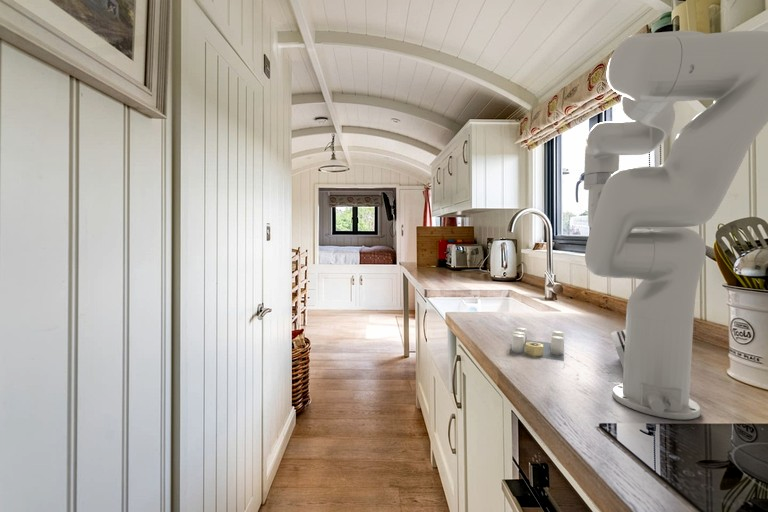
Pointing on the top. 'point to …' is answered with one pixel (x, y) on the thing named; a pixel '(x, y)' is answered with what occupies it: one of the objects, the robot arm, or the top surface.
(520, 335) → the spacers
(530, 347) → the nut
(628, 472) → the top surface
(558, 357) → the mat
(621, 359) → the hinge
